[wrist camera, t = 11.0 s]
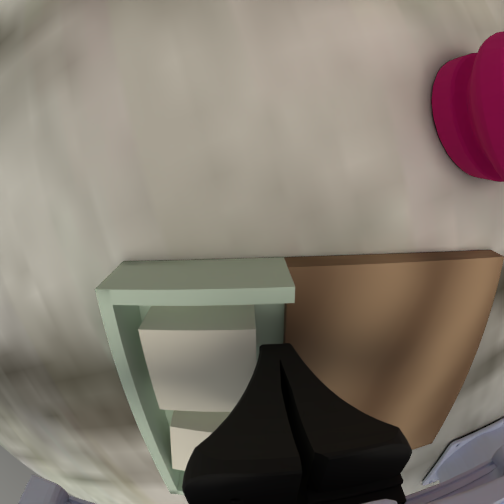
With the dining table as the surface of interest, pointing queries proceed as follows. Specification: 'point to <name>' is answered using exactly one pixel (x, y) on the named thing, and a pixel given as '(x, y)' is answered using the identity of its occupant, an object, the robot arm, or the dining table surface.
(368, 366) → the board
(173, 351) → the tile
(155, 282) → the tray
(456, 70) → the pepper mill
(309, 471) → the robot arm
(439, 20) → the dining table surface
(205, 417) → the tile
